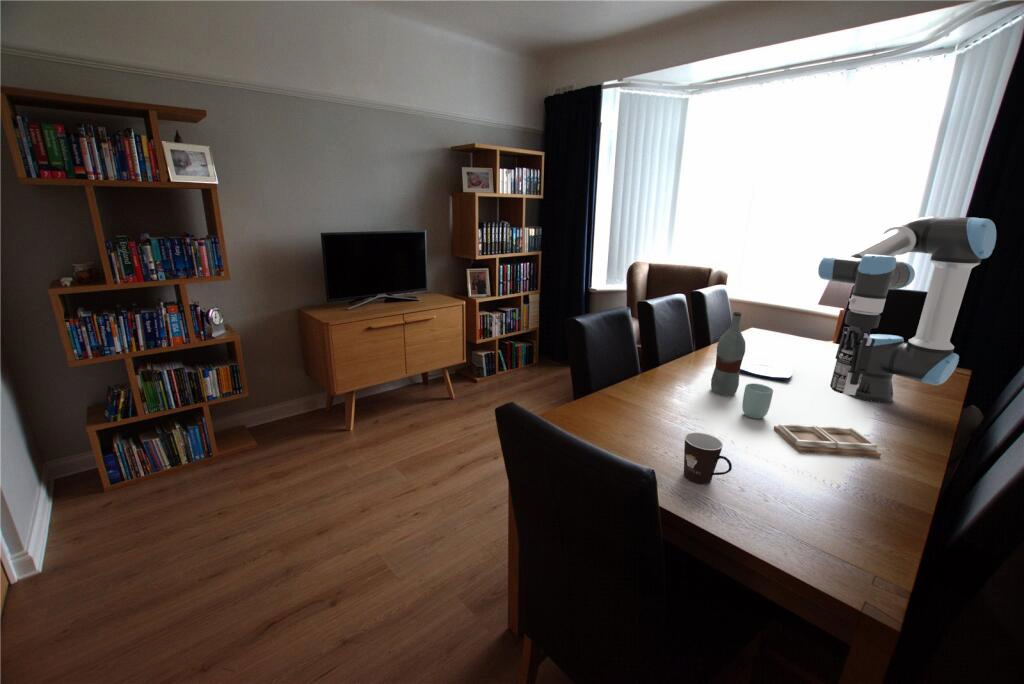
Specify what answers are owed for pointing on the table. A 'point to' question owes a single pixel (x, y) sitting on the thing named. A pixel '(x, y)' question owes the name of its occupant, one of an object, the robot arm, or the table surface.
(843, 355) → the beverage can
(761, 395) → the cup
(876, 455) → the divided tray
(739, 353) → the bottle
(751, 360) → the plate
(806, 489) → the table surface
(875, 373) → the robot arm
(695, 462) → the coffee mug
